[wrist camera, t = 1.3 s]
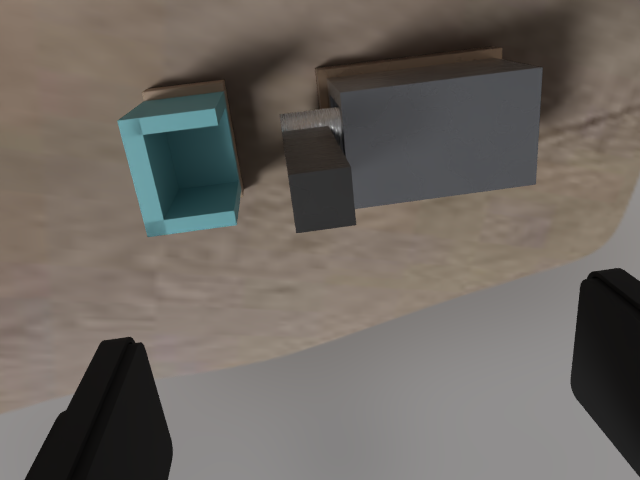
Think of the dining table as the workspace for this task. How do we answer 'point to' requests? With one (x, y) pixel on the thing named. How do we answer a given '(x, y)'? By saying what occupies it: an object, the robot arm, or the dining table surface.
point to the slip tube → (318, 170)
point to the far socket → (183, 158)
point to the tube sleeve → (435, 124)
